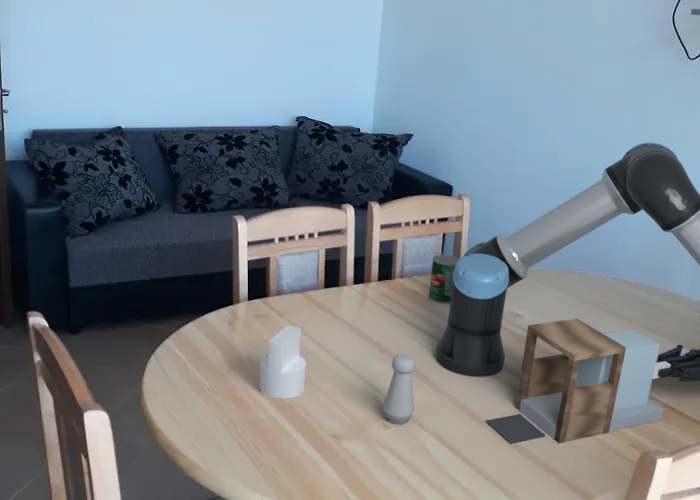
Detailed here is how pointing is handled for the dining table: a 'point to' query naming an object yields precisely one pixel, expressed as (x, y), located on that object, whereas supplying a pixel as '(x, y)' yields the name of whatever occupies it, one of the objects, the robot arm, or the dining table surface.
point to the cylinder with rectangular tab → (283, 365)
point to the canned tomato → (442, 278)
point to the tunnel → (571, 376)
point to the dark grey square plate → (515, 428)
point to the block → (624, 368)
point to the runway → (548, 407)
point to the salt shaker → (400, 391)
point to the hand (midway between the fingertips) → (643, 373)
